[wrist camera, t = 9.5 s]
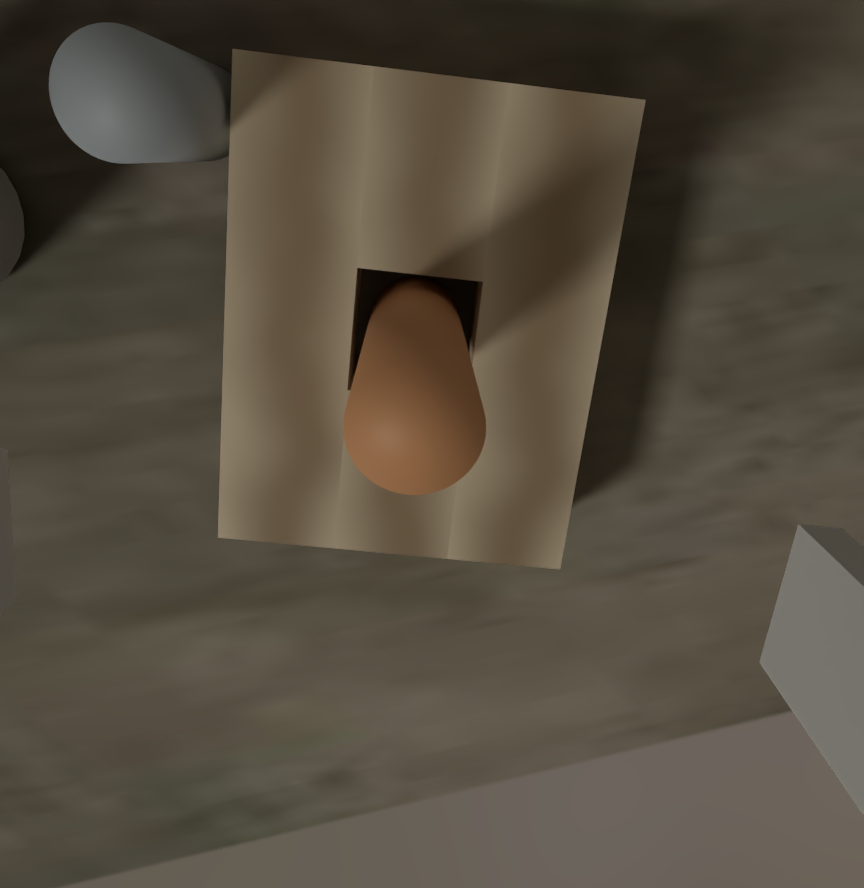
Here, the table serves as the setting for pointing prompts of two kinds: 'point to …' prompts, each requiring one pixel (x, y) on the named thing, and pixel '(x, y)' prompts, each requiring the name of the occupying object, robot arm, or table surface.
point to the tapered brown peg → (414, 393)
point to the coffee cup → (9, 226)
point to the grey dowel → (139, 98)
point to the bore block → (413, 254)
